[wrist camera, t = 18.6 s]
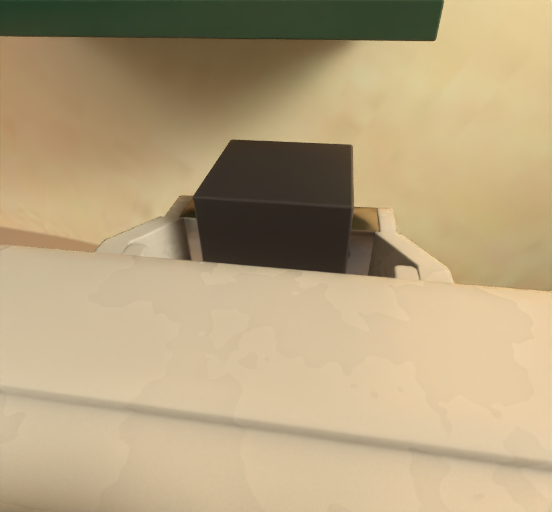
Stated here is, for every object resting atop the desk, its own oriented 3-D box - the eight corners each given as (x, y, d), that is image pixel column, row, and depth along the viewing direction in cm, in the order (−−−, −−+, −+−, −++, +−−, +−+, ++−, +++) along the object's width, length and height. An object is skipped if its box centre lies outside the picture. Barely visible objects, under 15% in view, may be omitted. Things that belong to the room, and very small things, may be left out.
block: (353, 143, 13) (354, 206, 10) (341, 246, 16) (339, 323, 13) (230, 138, 14) (191, 196, 11) (238, 238, 17) (209, 310, 13)
